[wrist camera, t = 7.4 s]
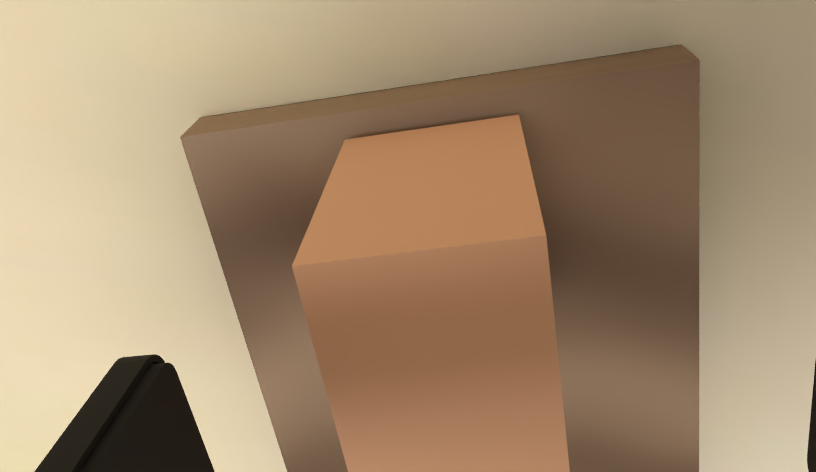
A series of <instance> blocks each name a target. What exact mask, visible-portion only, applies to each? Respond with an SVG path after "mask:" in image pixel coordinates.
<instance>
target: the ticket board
mask: <svg viewBox="0 0 816 472" xmlns="http://www.w3.org/2000/svg"><path fill="white" fill-rule="evenodd" d="M512 115H519V117H520V122H521V126H522V130H523V135H524V139H525V144H526V148H527V152H528V157H529V161H530V166H531V170H532V174H533V179H534V183H535V188H536V192H537V196H538V201H539V205H540V210H541V214H542V218H543V223H544V227H545V232H546V237H547V247H548V257H549V267H550V277H551V288H552V298H553V308H554V318H555V328H556V338H557V348H558V358H559V368H560V378H561V388H562V398H563V408H564V418H565V428H566V438H567V448H568V458H569V468H570V472H699V59H698V58H697V57H695V56H694V55H693V54H692V53H691V52H689V51H688V50H687V49H686V48H685V47H683V46H682V45H676V46H669V47H663V48H656V49H650V50H643V51H637V52H630V53H623V54H617V55H610V56H604V57H597V58H591V59H584V60H577V61H571V62H564V63H558V64H551V65H544V66H538V67H531V68H525V69H518V70H512V71H505V72H498V73H492V74H485V75H479V76H472V77H466V78H459V79H452V80H446V81H439V82H433V83H426V84H419V85H413V86H406V87H400V88H393V89H387V90H380V91H373V92H367V93H360V94H354V95H347V96H341V97H334V98H327V99H321V100H314V101H308V102H301V103H294V104H288V105H281V106H275V107H268V108H262V109H255V110H248V111H242V112H235V113H229V114H222V115H216V116H209V117H202V118H199V119H198V120H197V121H196V122H195V123H194V124H193V125H192V126H191V127H190V128H189V129H188V130H187V131H186V132H185V133H184V134H183V135H182V136H181V137H180V138H181V141H182V144H183V147H184V151H185V154H186V157H187V160H188V163H189V166H190V169H191V172H192V176H193V179H194V182H195V185H196V188H197V191H198V194H199V197H200V200H201V204H202V207H203V210H204V213H205V216H206V219H207V222H208V225H209V229H210V232H211V235H212V238H213V241H214V244H215V247H216V250H217V253H218V257H219V260H220V263H221V266H222V269H223V272H224V275H225V278H226V282H227V285H228V288H229V291H230V294H231V297H232V300H233V303H234V306H235V310H236V313H237V316H238V319H239V322H240V325H241V328H242V331H243V335H244V338H245V341H246V344H247V347H248V350H249V353H250V356H251V359H252V363H253V366H254V369H255V372H256V375H257V378H258V381H259V384H260V388H261V391H262V394H263V397H264V400H265V403H266V406H267V409H268V412H269V416H270V419H271V422H272V425H273V428H274V431H275V434H276V437H277V441H278V444H279V447H280V450H281V453H282V456H283V459H284V462H285V465H286V469H287V472H348V470H347V466H346V463H345V459H344V455H343V452H342V448H341V444H340V441H339V437H338V433H337V430H336V426H335V422H334V419H333V415H332V411H331V408H330V404H329V400H328V397H327V393H326V389H325V386H324V382H323V378H322V375H321V371H320V367H319V364H318V360H317V357H316V353H315V349H314V346H313V342H312V338H311V335H310V331H309V327H308V324H307V320H306V316H305V313H304V309H303V305H302V302H301V298H300V294H299V291H298V287H297V283H296V280H295V276H294V272H293V269H292V264H293V262H294V260H295V257H296V255H297V253H298V250H299V248H300V245H301V243H302V241H303V238H304V236H305V233H306V231H307V229H308V226H309V224H310V221H311V219H312V217H313V214H314V212H315V210H316V207H317V205H318V202H319V200H320V198H321V195H322V193H323V190H324V188H325V186H326V183H327V181H328V178H329V176H330V174H331V171H332V169H333V167H334V164H335V162H336V159H337V157H338V155H339V152H340V150H341V147H342V145H343V143H344V140H346V139H353V138H359V137H366V136H373V135H380V134H387V133H394V132H401V131H408V130H415V129H422V128H429V127H436V126H443V125H450V124H457V123H464V122H471V121H478V120H485V119H491V118H498V117H505V116H512Z"/></svg>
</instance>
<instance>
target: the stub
mask: <svg viewBox="0 0 816 472" xmlns="http://www.w3.org/2000/svg"><path fill="white" fill-rule="evenodd" d="M292 269H293V272H294V276H295V280H296V283H297V287H298V291H299V294H300V298H301V302H302V305H303V309H304V313H305V316H306V320H307V324H308V327H309V331H310V335H311V338H312V342H313V346H314V349H315V353H316V357H317V360H318V364H319V367H320V371H321V375H322V378H323V382H324V386H325V389H326V393H327V397H328V400H329V404H330V408H331V411H332V415H333V419H334V422H335V426H336V430H337V433H338V437H339V441H340V444H341V448H342V452H343V455H344V459H345V463H346V466H347V470H348V472H570V468H569V458H568V448H567V438H566V428H565V418H564V408H563V398H562V388H561V378H560V368H559V358H558V348H557V338H556V328H555V318H554V308H553V298H552V288H551V277H550V267H549V257H548V247H547V237H546V232H545V227H544V223H543V218H542V214H541V210H540V205H539V201H538V196H537V192H536V188H535V183H534V179H533V174H532V170H531V166H530V161H529V157H528V152H527V148H526V144H525V139H524V135H523V130H522V126H521V122H520V117H519V115H512V116H505V117H498V118H491V119H485V120H478V121H471V122H464V123H457V124H450V125H443V126H436V127H429V128H422V129H415V130H408V131H401V132H394V133H387V134H380V135H373V136H366V137H359V138H353V139H346V140H344V143H343V145H342V147H341V150H340V152H339V155H338V157H337V159H336V162H335V164H334V167H333V169H332V171H331V174H330V176H329V178H328V181H327V183H326V186H325V188H324V190H323V193H322V195H321V198H320V200H319V202H318V205H317V207H316V210H315V212H314V214H313V217H312V219H311V221H310V224H309V226H308V229H307V231H306V233H305V236H304V238H303V241H302V243H301V245H300V248H299V250H298V253H297V255H296V257H295V260H294V262H293V264H292Z"/></svg>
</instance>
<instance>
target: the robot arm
mask: <svg viewBox="0 0 816 472" xmlns="http://www.w3.org/2000/svg"><path fill="white" fill-rule="evenodd" d="M807 463H808V470H809V472H816V362H815V374H814V385H813V397H812V408H811V420H810V431H809V443H808V454H807ZM35 472H214V469H213V466H212V464H211V461H210V459H209V456H208V453H207V451H206V448H205V445H204V443H203V440H202V438H201V435H200V432H199V430H198V427H197V424H196V422H195V419H194V417H193V414H192V411H191V409H190V406H189V403H188V401H187V398H186V395H185V393H184V390H183V388H182V385H181V382H180V380H179V377H178V374H177V372H176V370H175V368H174V366H173V365H172V364H170V363H165V362H164V360H163V359H162V358H161V357H160V356H158V355H144V356H132V357H123V358H120V359H118V360H117V361H116V362H115V363H114V364H113V366H112V367H111V369H110V370H109V371H108V373H107V374H106V375H105V377H104V378H103V379H102V381H101V382H100V383H99V385H98V386H97V388H96V389H95V390H94V392H93V393H92V394H91V396H90V397H89V398H88V400H87V401H86V402H85V404H84V405H83V407H82V408H81V409H80V411H79V412H78V413H77V415H76V416H75V417H74V419H73V420H72V421H71V423H70V424H69V426H68V427H67V428H66V430H65V431H64V432H63V434H62V435H61V436H60V438H59V439H58V441H57V442H56V443H55V445H54V446H53V447H52V449H51V450H50V451H49V453H48V454H47V455H46V457H45V458H44V460H43V461H42V462H41V464H40V465H39V466H38V468H37V469H36V470H35Z"/></svg>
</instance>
